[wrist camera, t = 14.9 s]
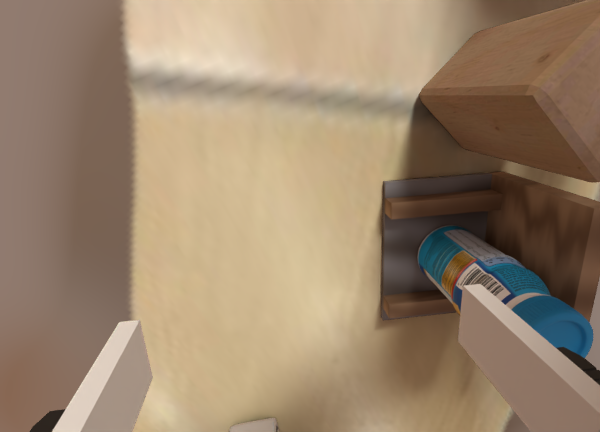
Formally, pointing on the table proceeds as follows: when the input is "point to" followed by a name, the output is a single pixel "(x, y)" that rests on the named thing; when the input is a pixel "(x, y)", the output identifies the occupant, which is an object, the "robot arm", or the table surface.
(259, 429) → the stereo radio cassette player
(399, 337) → the table surface
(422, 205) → the backstop holder
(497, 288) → the beverage bottle
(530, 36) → the wooden block
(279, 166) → the table surface
